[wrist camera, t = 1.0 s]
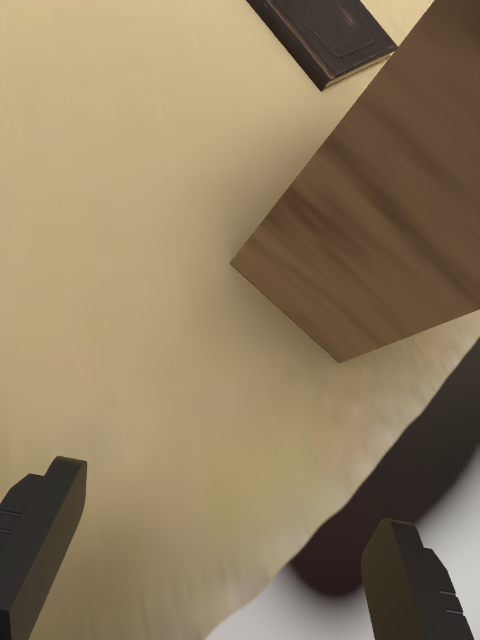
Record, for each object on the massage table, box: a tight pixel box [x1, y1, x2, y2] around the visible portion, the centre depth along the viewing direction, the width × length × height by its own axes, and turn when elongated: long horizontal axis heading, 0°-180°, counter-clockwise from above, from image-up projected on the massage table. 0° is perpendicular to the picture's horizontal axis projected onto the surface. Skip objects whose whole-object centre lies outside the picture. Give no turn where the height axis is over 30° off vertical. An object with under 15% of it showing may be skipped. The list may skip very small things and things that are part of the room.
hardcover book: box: [246, 0, 398, 92], centre depth 54 cm, size 16×23×2 cm
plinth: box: [230, 0, 480, 363], centre depth 30 cm, size 24×16×32 cm, turn 143°
